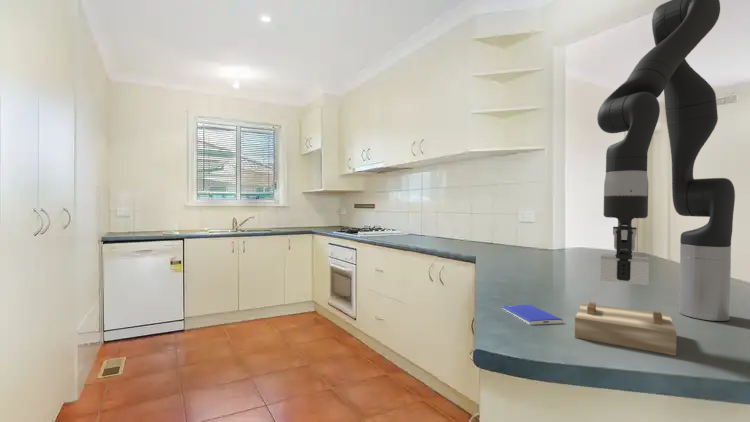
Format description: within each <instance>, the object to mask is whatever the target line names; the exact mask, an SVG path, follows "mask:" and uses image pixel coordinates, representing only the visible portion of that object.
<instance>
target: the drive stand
mask: <svg viewBox="0 0 750 422" xmlns="http://www.w3.org/2000/svg"><path fill="white" fill-rule="evenodd" d="M677 334H678V333H677V331H676V328H675V325H674V323H673V320H672V317H671V314H668V313H662V312H661V310H656V309H652V312H651V311H645V310H638V309H631V308H630V309H629V308H623V307H615V306H607V305H602V304H601V305H600V304H597V302H595V301H589V302H588V303H585V302H582V303H581V304H580V306H579V309H578V310H577V313H576V315H575V317H574V338H575V339H582V340H587V341H592V342H597V343H598V342H599V343H602V344H603V343H604V344H610V345H614V346H620V347H621V346H622V347H626V348H632V349H636V350H637V349H638V350H642V351H643V350H644V351H648V352H654V353H659V354H665V355H671V356H677Z"/></svg>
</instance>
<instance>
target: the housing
mask: <svg viewBox="0 0 750 422" xmlns="http://www.w3.org/2000/svg"><path fill="white" fill-rule="evenodd" d="M619 261H620V260H619ZM649 278H650V258H649V257H648V256H638V255H637V256H636V255H632V260H631V266H630V280H629V281H623V280H618V279H617V259H616V254H606V253H601V254H600V282H601V281H603V282H612V283H613V282H614V283H621V284H622V283H623V284H634V285H642V286H649V285H650V282H649V281H650V279H649Z"/></svg>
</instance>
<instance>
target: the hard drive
mask: <svg viewBox="0 0 750 422" xmlns="http://www.w3.org/2000/svg"><path fill="white" fill-rule="evenodd" d="M502 309H504V310H506V311H507V312H509V313H511V314H513V315H514V316H513V315H512V316H513V317H515V316H516V317H518V318H519V319H518V318H517V319H518V320H520V319H521V320H520V321H522V320H523V321H522V322H524V323H525V322H526V324H527V325H531V326H532V325H533V326H534V325H551V324H552V325H553V324H563V321H564V320H563V318H560V317H558V316H556V315H555V314H552V313H549V312H547V311H545V310H543V309H541V308H538V307H536V306H534V305H533V304H515V305H514V304H512V305H509V304H508V305H502V306H501V310H502ZM504 310H503V311H504ZM506 311H505V312H506ZM507 312H506V313H507ZM509 313H508V314H509ZM511 314H510V315H511ZM516 317H515V318H516Z"/></svg>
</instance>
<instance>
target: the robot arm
mask: <svg viewBox="0 0 750 422" xmlns="http://www.w3.org/2000/svg"><path fill="white" fill-rule="evenodd" d="M720 14H721V2H720V0H669V1H666V2H664V3H662V4H660V5H658V6H657V7H656V8H655V9H654V11H653V13H652V19H651V26H652V27H651V28H652V30H651V31H652V35H653V39H654V40H653V41H654V45H655V46H654V47H653V48H652V49H650V50H649V51H648V52H647V53H646V54H645V55H644V56H643V57H642V58H641V59H640V60H639V62H637V64H636V65H635V66H634V68H633V69H632V71H631V73H630V74H629V76H628V78H627V80H625V81H624V82H623V83H622V84H620V85H619V87H617V88H616V89H615V90H614V91H613V92H612V93H611V94H610V95H608V97H607V98H606V99H604V101H603V103H601V105H600V107H599V109H598V112H597V118H596V119H597V124H598V127H599V128H600V130H602V131H603V132H604V133H607V134H619V133H620V134H621V133H624V132H626V135H625V137H624V138H623V139H622V140H620V141H618V142H616V143H613V144H611V145H610V146H608V147H607V149H606V154H605V155H606V157H605V178H604V184H603V185H604V186H603V217H605V218H615V219H616V220H617V226H613V227H612V235H613V238H614V239H613V247H614V250H615V251H616V252H615V253H616V254H615V255H616V259H617V279H618V280H623V281H629V280H630V266H631V260H632V256H633V254H632V253H633V252H634V251H635V247H636V243H635V241H636V236H637V226H635V227H634V226H632V221H633V220H634V219H646V218H648V215H649V176H648V154H649V153H648V152H649V149H650V145H651V142H652V139H653V136H654V133H655V130H656V128H657V124H658V122H659V117H660V113H661V110H660V109H661V106H660V102H659V100H658V97H660V96H661V95H662V93H663V96H664V109H665V118H666V125H667V133H668V139H669V145H670V146H669V147H670V155H671V156H670V157H671V190H672V191H671V193H672V195H671V196H672V202H673V207H674V210H675V212H676V213H677V214H678V215H679V216H683V217H702V218H703V217H704V218H705V217H706V218H707V217H708V218H709V219H708V222H707V223H706V224H705V225H703V226H701V227H698V228H694V229H691V230H686V231H683V232H682V233H681V234H680V247H679V248H680V250H679V251H680V252H679V254H680V256H679V258H680V260H679V264H680V265H679V296H678V297H679V299H678V300H679V302H678V303H679V304H678V307H679V309H678V311H679V314H681V315H683V316H686V317H689V318H690V317H691V318H694V319H698V320H705V321H714V322H715V321H716V322H725V321H730V317H731V316H730V313H731V311H730V307H731V274H732V272H731V269H732V267H731V265H732V264H731V263H732V262H731V261H732V258H731V257H732V236H733V224H734V223H733V221H734V210H735V201H736V200H735V199H736V192H735V191H736V190H735V185H734V184H733V182H732V181H731V180H730V179H729V178H727V177H726V178H725V177H711V178H707V177H706V178H694V165H695V162H696V159H697V157H698V155H699V153H700V152H701V150H702V148H703V147H704V145H705V144H706V142H707V141H708V139H710V137H711V135H712V133H713V132H714V130H715V129H716V126H717V124H718V119H719V116H718V106H717V105H718V104H717V95H716V91H715V90H714V88H713V87H712V86H711V85H710V83H709V82H708V81H707V80H706V79H705V78H703V77H702V76H701V75H700V74H699V73H698V72H697V71H696V70H695V69H693V67H692V66H691V65H690V64H689V62H688V61H687V60H686V58H687V57H688V55H690V53H691V52H692V51H693V50H694V49H695V48H696V47H697V46H698V45H699V44H700V42H701V41H702V40H703V39H704V38H705V37H706V36H707V35H708V34H709V33H710V32H711V31H712V29H713V28H714V27H715V25H716V24H717V22H718V20H719V17H720ZM619 260H620V261H619Z"/></svg>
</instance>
